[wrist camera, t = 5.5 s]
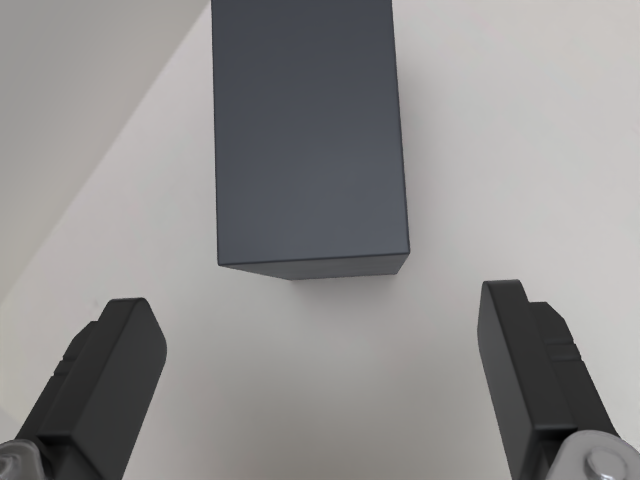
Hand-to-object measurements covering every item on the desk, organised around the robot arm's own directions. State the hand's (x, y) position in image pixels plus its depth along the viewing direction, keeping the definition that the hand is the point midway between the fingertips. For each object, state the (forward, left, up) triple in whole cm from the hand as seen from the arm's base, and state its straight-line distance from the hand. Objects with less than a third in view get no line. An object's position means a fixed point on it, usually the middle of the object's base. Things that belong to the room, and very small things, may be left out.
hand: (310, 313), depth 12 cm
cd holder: (+2, +6, -11) cm, 12 cm away
